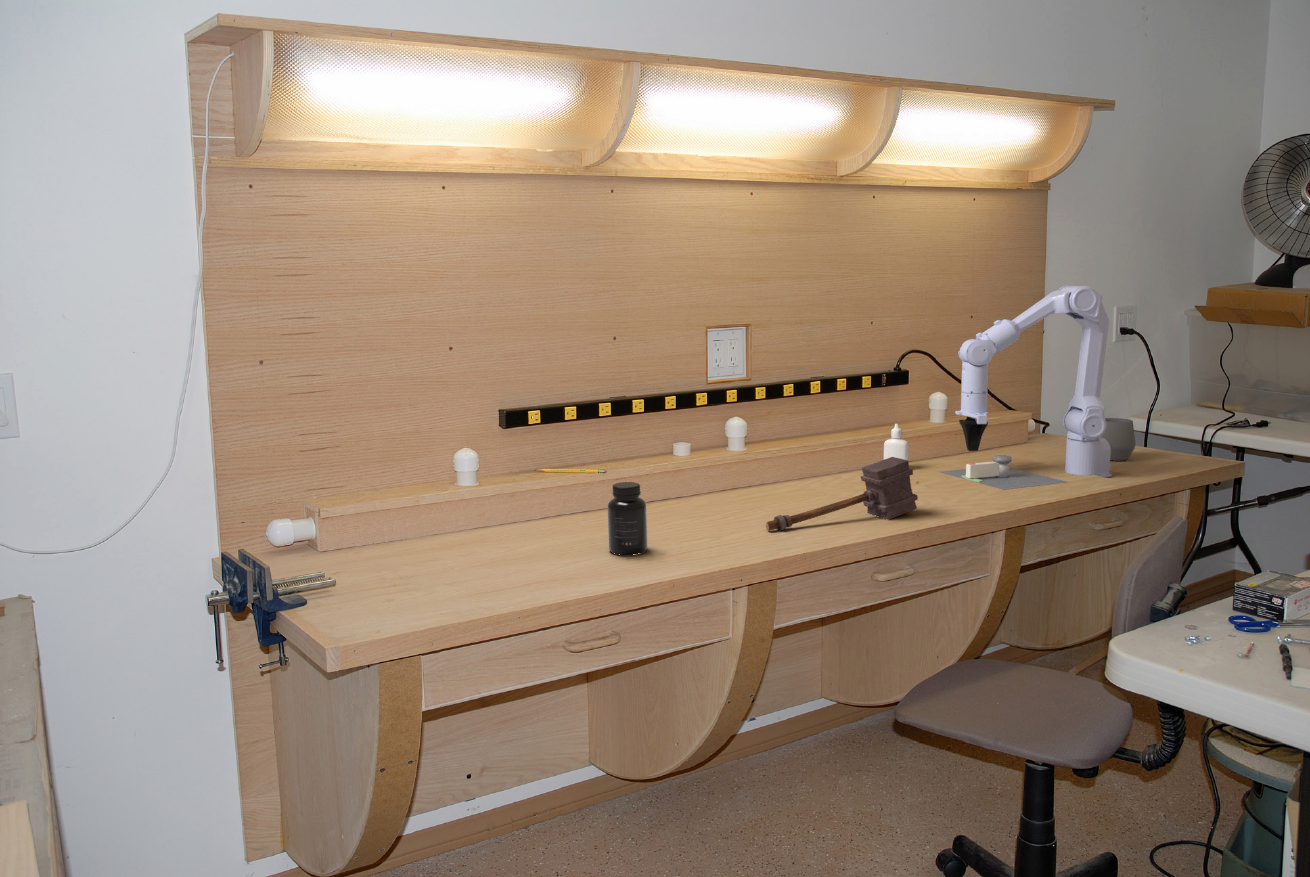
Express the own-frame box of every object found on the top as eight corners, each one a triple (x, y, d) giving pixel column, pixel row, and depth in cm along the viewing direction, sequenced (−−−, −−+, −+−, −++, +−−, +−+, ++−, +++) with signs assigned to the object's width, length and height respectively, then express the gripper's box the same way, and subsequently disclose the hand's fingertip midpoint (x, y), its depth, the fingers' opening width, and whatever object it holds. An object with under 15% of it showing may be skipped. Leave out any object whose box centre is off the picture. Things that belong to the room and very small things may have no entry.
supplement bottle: (610, 545, 178) (608, 480, 176) (648, 545, 177) (647, 480, 175) (607, 556, 171) (605, 488, 169) (646, 556, 171) (645, 488, 169)
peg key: (1003, 473, 229) (1004, 454, 228) (1014, 477, 225) (1015, 457, 224) (962, 477, 225) (963, 458, 225) (973, 481, 222) (974, 461, 221)
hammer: (920, 508, 196) (913, 460, 194) (782, 562, 184) (773, 511, 181) (898, 501, 202) (891, 455, 200) (763, 553, 190) (754, 504, 187)
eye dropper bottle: (894, 470, 240) (895, 421, 238) (910, 474, 236) (912, 424, 234) (880, 472, 238) (881, 423, 236) (896, 476, 233) (897, 426, 231)
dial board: (998, 469, 240) (999, 463, 240) (1068, 486, 220) (1068, 480, 220) (938, 475, 233) (938, 470, 233) (1004, 494, 213) (1004, 488, 213)
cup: (1085, 457, 253) (1087, 418, 252) (1116, 454, 256) (1119, 416, 254) (1110, 463, 244) (1113, 423, 243) (1143, 461, 247) (1145, 421, 245)
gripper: (948, 388, 234) (947, 445, 236) (965, 396, 220) (963, 456, 222) (978, 388, 234) (977, 444, 236) (997, 395, 219) (995, 456, 222)
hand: (972, 450), depth 229 cm, fingers closed
